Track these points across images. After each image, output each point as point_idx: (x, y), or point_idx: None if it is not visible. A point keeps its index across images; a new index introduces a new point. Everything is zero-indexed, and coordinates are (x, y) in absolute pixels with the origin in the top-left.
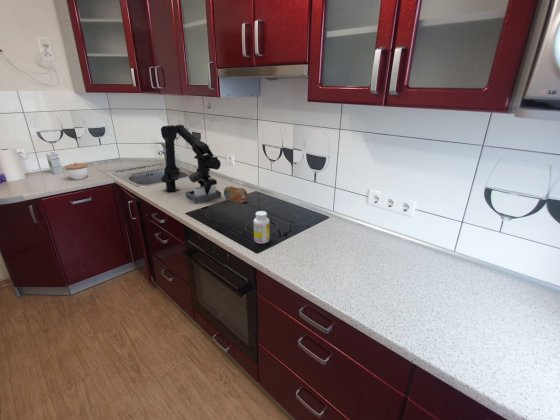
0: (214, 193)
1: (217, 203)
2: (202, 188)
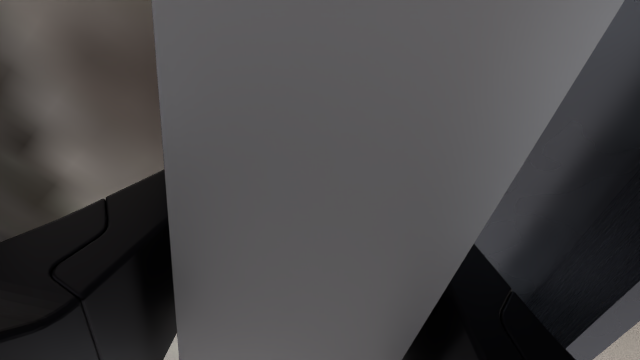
0: None
1: (4, 79)
2: (167, 171)
